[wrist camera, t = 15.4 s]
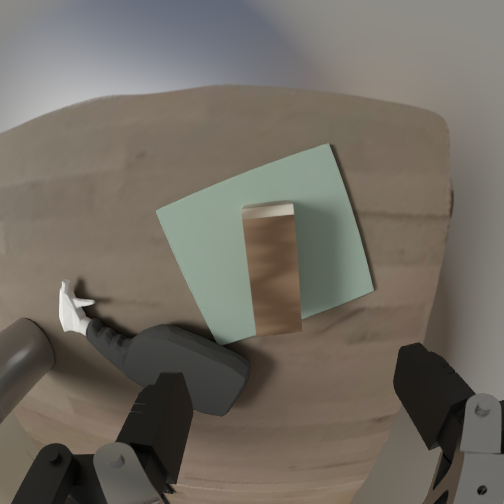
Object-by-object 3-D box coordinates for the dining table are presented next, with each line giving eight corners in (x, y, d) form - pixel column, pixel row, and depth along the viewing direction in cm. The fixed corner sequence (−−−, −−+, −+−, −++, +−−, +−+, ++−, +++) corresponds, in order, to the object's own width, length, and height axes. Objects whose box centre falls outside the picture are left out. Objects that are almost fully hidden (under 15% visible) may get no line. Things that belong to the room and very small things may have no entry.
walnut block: (256, 336, 24) (240, 209, 21) (256, 311, 29) (243, 204, 26) (301, 331, 24) (293, 203, 21) (295, 307, 29) (286, 200, 26)
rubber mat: (219, 343, 31) (218, 346, 30) (157, 210, 27) (155, 210, 27) (371, 288, 29) (373, 290, 28) (327, 143, 25) (328, 143, 25)
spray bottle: (225, 408, 33) (65, 330, 32) (258, 352, 30) (70, 264, 29) (222, 424, 30) (54, 341, 29) (257, 369, 27) (55, 272, 26)
